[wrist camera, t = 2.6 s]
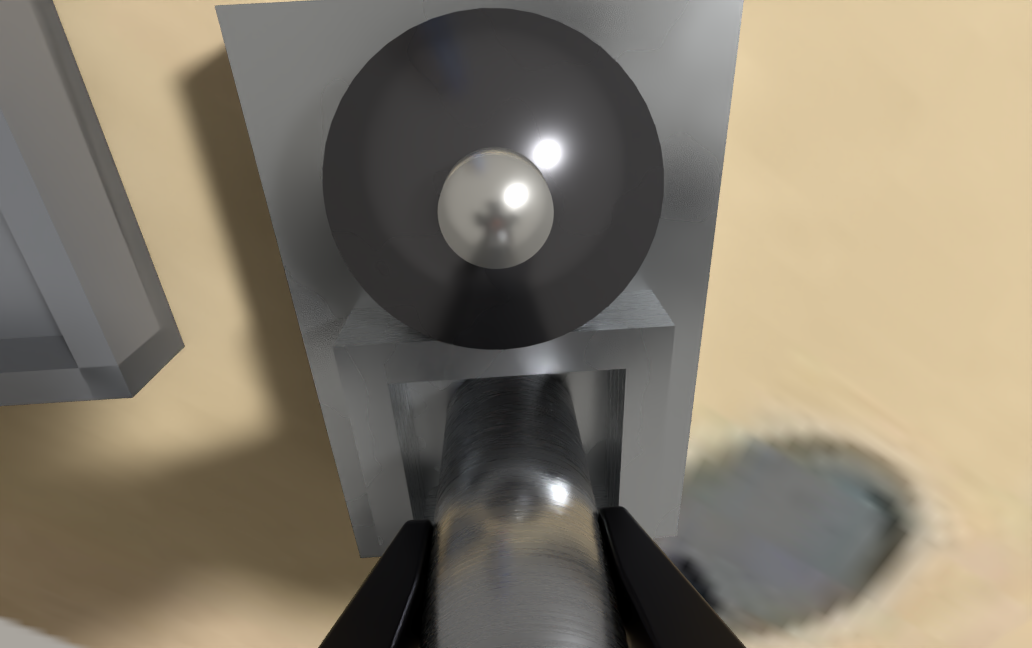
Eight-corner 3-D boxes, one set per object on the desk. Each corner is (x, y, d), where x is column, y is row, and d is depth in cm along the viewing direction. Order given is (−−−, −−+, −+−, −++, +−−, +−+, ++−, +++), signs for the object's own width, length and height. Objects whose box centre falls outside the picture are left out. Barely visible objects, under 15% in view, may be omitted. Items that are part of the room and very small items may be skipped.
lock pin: (587, 473, 13) (712, 1027, 6) (442, 482, 13) (378, 1054, 5) (589, 347, 11) (766, 892, 4) (423, 357, 11) (299, 930, 4)
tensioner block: (650, 467, 16) (707, 618, 12) (379, 485, 16) (338, 644, 12) (692, -9, 10) (827, -45, 6) (274, 14, 10) (125, -7, 6)
